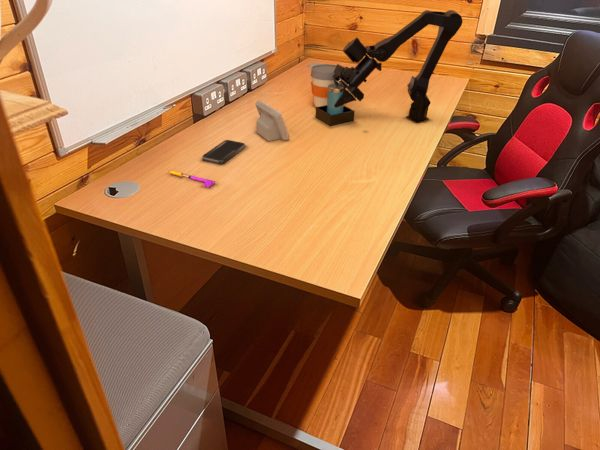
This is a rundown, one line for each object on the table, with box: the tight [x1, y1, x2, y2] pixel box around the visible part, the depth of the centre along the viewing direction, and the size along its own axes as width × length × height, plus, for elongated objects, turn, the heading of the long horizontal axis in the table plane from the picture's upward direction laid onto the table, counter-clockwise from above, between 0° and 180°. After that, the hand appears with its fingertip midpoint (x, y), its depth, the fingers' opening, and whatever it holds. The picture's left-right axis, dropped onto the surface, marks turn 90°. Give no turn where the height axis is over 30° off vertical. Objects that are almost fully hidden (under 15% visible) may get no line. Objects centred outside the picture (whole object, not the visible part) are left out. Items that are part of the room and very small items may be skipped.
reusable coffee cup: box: [310, 63, 337, 108], centre depth 188 cm, size 13×13×15 cm
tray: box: [315, 105, 356, 127], centre depth 177 cm, size 11×10×4 cm
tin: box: [327, 84, 345, 115], centre depth 174 cm, size 6×6×12 cm
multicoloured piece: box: [169, 170, 216, 189], centre depth 137 cm, size 3×1×16 cm
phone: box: [202, 139, 246, 165], centre depth 152 cm, size 8×1×15 cm
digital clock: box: [255, 100, 290, 142], centre depth 163 cm, size 16×9×11 cm, turn 20°
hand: (331, 103), depth 174 cm, fingers closed on tin, 6 cm apart
